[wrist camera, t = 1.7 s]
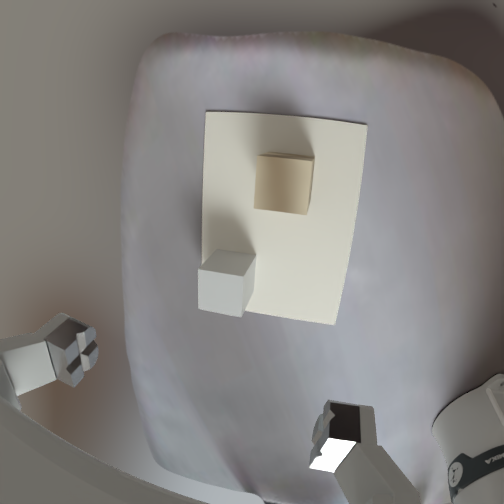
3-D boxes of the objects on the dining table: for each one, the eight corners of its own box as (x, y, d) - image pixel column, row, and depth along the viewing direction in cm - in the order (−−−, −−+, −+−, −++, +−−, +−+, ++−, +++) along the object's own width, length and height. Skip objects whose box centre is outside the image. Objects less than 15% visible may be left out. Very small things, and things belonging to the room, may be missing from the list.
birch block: (315, 156, 30) (312, 161, 25) (310, 201, 31) (306, 215, 26) (269, 151, 30) (256, 155, 25) (265, 195, 32) (253, 208, 27)
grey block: (256, 254, 35) (243, 276, 30) (253, 291, 36) (241, 317, 31) (216, 248, 36) (198, 269, 31) (215, 285, 37) (198, 308, 32)
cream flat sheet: (367, 125, 27) (367, 125, 27) (334, 324, 36) (334, 325, 36) (206, 111, 30) (205, 111, 30) (202, 301, 39) (202, 302, 39)
